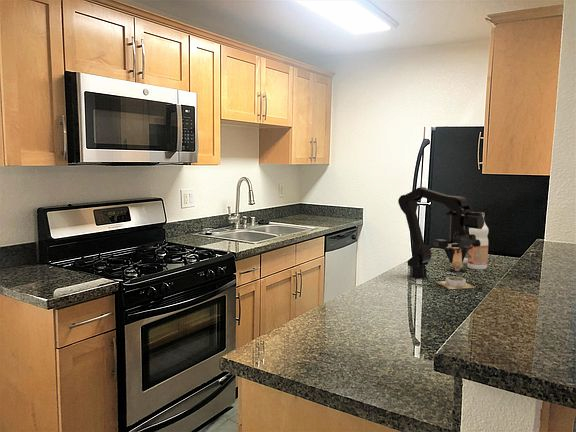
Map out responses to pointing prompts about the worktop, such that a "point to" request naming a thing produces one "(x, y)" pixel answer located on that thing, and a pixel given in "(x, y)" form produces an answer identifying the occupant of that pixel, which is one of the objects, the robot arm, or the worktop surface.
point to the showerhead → (462, 264)
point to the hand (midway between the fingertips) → (456, 262)
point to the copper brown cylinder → (456, 257)
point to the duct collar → (455, 281)
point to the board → (455, 287)
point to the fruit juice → (479, 249)
